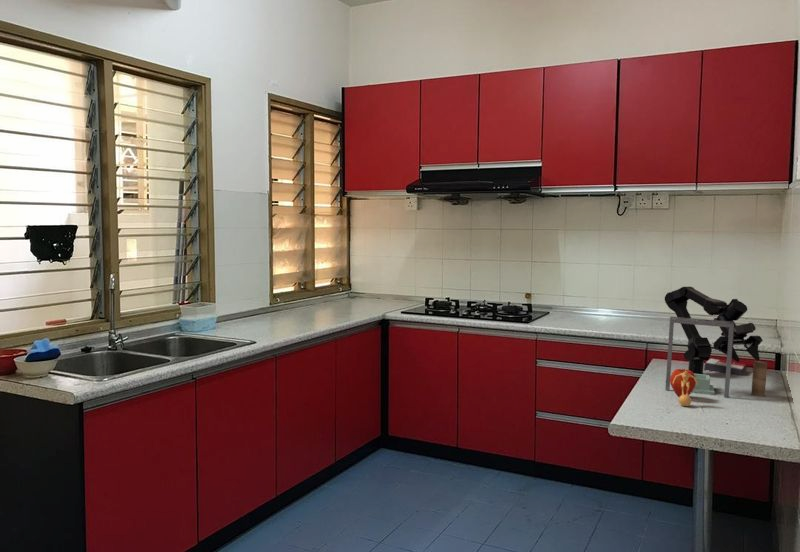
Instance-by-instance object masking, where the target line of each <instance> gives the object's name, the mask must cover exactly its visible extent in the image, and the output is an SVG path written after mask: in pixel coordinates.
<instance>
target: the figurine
mask: <svg viewBox="0 0 800 552" xmlns="http://www.w3.org/2000/svg"><path fill="white" fill-rule="evenodd" d="M678 376H682V377H683V381H681V386H682V395H681V396H680V397H678V403H679V404H680V405H681V406H683V407H687V406H690V405H691V404H692V398H691V397H690V395H689V396H688V390H689V387H690V386H689V383H690V382H689V381H688V378H689V377H692V378H694V379H695V381H696V383H697V386H698V382H697V380H696V378H695V377H694V376H692V375H690V374H688V372H687V371H685V372H683V373H681V374H679V375H676V376H675V378H674V380H673V383H672V384H674V381H675V379H676V377H678ZM687 381H688V382H687ZM685 384H686V386H687V388H688V389H687V392H686V395H684V391H683V390H684V388H683V387H684V386H685Z"/></svg>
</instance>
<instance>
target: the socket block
mask: <svg viewBox="0 0 800 552" xmlns="http://www.w3.org/2000/svg"><path fill="white" fill-rule="evenodd" d="M694 375H695V378H696V380H697V382H698V386H697V383H696V384H695V387H694V389H693V391H692V392H691V393H695V392H697V394H703V393H704V394H706V395H714V396H715V389H714V384H711V379H710V378H711V377H710V375H709V374H705V375H703V374H694ZM704 394H703V395H704Z"/></svg>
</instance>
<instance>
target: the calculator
mask: <svg viewBox="0 0 800 552" xmlns="http://www.w3.org/2000/svg"><path fill="white" fill-rule="evenodd" d="M704 362H705V363H704V366H703V371H706V370H709V371H708V372H712V371H715V372H714V373H722V374H726V364H727V360H724V359H721V360H720V359H716V358H709V360H708V361H707V360H706V361H704ZM746 373H747V365H746V364H745V363H739V362H736V361H735V362H734V361H731V372H730V375H733V374H734V376H740V375H741V376H742V377H743V376H744V375H745V374H746Z"/></svg>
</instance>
